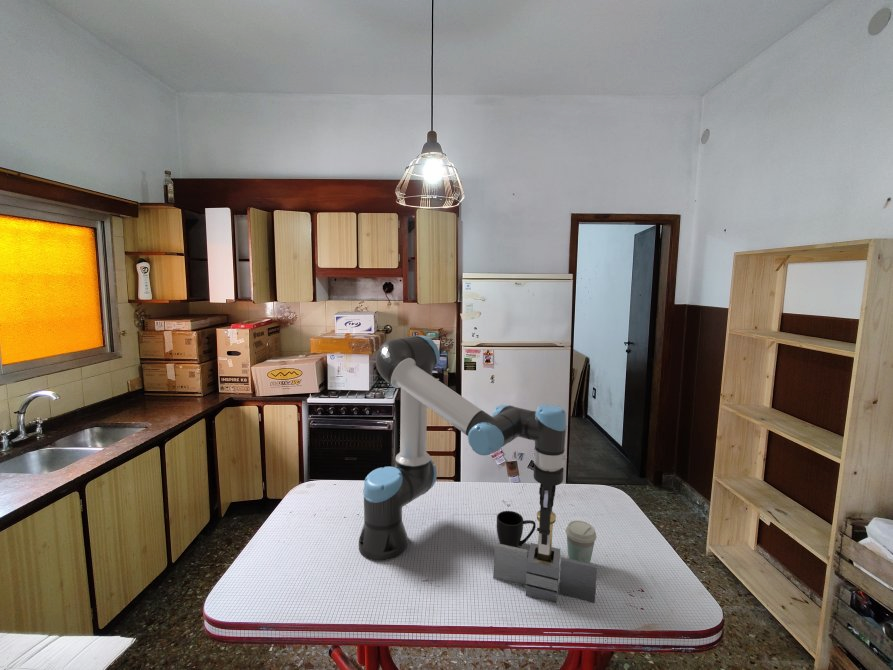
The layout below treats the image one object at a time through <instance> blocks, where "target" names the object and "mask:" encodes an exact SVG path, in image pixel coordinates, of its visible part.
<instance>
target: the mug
mask: <svg viewBox="0 0 893 670" xmlns="http://www.w3.org/2000/svg"><path fill="white" fill-rule="evenodd" d="M527 524H530V525H532V527H531V530H530V531H529V533H528V534H527V535H526V536H525V538H523V539H522V535H523V533H524V532H523V530H524V525H527ZM536 526H537V525H536V522H535V521H534V520H532V519H531V520H530V519H528V520H526V519H525V520H524V518H523V516H522V515H521V514H520V513H519V512H516V511H512V510H503V511H501V512H498V513H497V515H496V534H497V538H498V542H499V543H498V544H503V545H508V546H512V547H517V548H519V547H521V546H523V545H525V543H526V542H527V541H528V540H529V538H531V536H532V535H533V533H534V532H535V530H536ZM521 539H522V540H521Z"/></svg>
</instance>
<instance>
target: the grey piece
mask: <svg viewBox="0 0 893 670" xmlns="http://www.w3.org/2000/svg"><path fill="white" fill-rule="evenodd" d="M493 546H494V549H493V551H494V552H493V572H492V573H493V575H492V577H493V579H494V580H499V581H503V582H507V583H510V584H515V585H518V586H523V587H526V584H530V585H534V586H538V587H542V588H546V589H550V590H554V591H557V589H558V590H559V580H558V579H556V578H552V577H548V576H543V575H539V574H535V573H531V572H527V559H528V554H529V549H525V548H520V547H518V548H517V547H512V546H508V545H503V544H500V543H497V542H494V545H493ZM535 559H537V557H535ZM551 563H553V561H551ZM559 564H561V561H560V562H559ZM558 577H559V578H560V573H559V574H558Z"/></svg>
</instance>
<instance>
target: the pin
mask: <svg viewBox="0 0 893 670" xmlns="http://www.w3.org/2000/svg"><path fill="white" fill-rule="evenodd" d="M556 518H557V515H556V513H555V512H554V511H553V510H552V511H551V518H550V549H549V555H545V554H540V553H539V537H538V539H537V544H538V558H537V560H541V561H546V562H550V563H551V549H552V547H553V544H552V543H553V529H554V528H553V527H554V524H556V520H557V519H556ZM536 520H538V528H540V510H538V511H537V512H536Z"/></svg>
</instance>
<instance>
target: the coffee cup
mask: <svg viewBox="0 0 893 670" xmlns="http://www.w3.org/2000/svg"><path fill="white" fill-rule="evenodd" d="M565 534H566V542H567V543H566V544H567V559H571V560H576V561H581V562H585V563H590V564H591V561H592V557H593V552H594V546H595V541H596V540H597V533H596V529H595V527H594V526H593V525H592V524H591V523H589V522H587V521H584V520H576V519H575V520H572V521H570V522H569V523H568V524H567V526H566V528H565Z"/></svg>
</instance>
